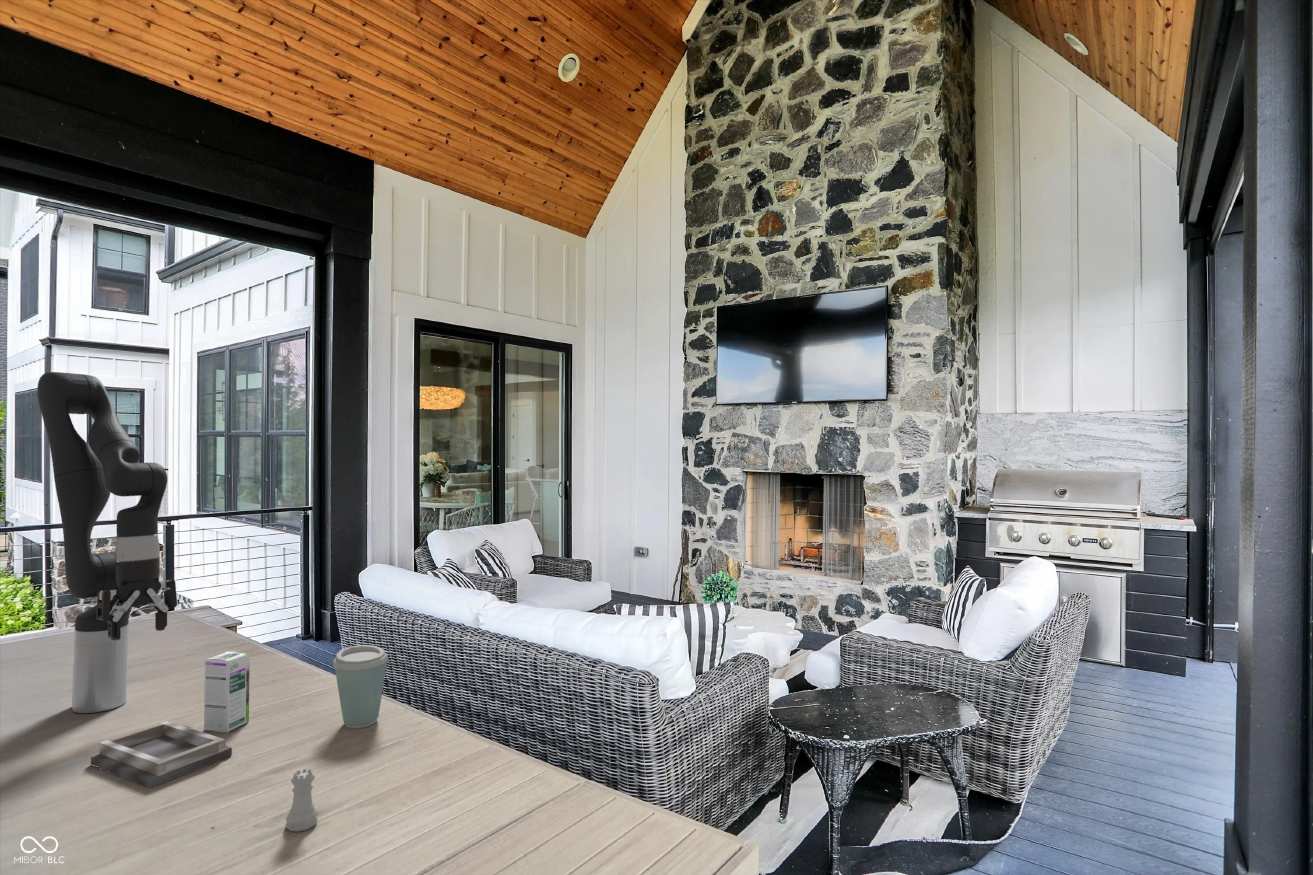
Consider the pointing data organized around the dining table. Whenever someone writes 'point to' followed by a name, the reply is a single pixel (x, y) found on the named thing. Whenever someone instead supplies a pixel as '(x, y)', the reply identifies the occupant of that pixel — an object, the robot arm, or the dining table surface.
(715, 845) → the dining table surface
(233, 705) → the syrup box
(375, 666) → the disposable coffee cup
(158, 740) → the shallow rectangular tray
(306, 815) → the rook chess piece
